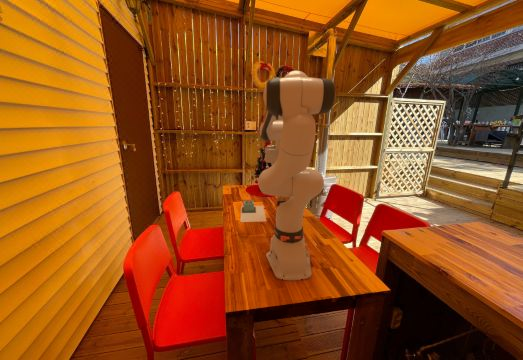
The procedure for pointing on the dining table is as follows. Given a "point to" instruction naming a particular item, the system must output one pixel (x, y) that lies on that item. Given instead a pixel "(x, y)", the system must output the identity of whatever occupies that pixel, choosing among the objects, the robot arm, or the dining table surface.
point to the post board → (253, 214)
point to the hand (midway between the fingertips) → (282, 170)
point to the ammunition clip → (282, 199)
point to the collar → (248, 206)
